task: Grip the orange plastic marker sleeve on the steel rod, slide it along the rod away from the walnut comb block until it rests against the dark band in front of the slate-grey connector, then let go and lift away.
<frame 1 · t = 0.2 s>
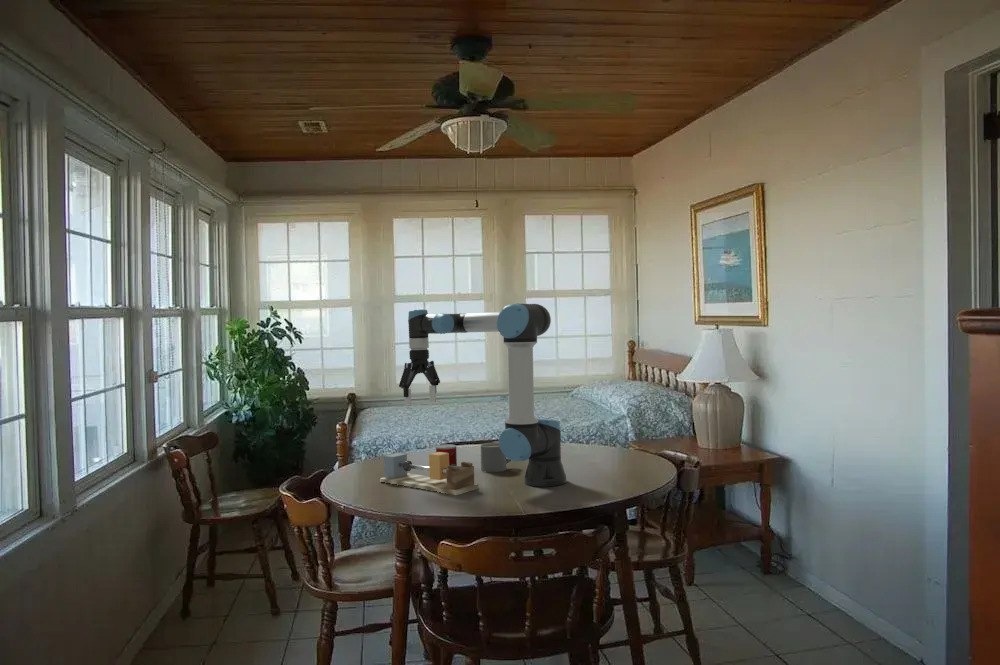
hand: (420, 403, 275), 28 cm above the table, tool pointing down, fingers open, 13 cm apart
canned food: (446, 474, 276), on the table
connector: (395, 465, 267), point 6 cm above the table
coffee mug: (498, 470, 282), on the table
rail board: (427, 485, 257), on the table
marker sleeve: (439, 465, 253), point 8 cm above the table, slide at 0.0 cm
rail rod: (426, 468, 257), point 6 cm above the table
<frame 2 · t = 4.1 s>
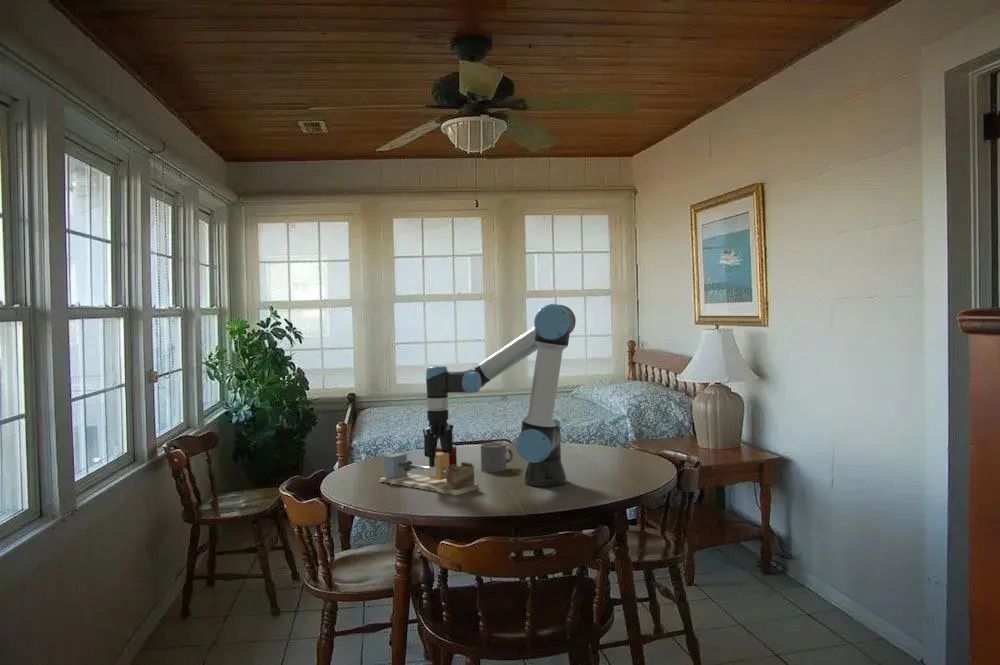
hand: (439, 474, 253), 5 cm above the table, tool pointing down, fingers closed on marker sleeve, 5 cm apart
marker sleeve: (439, 465, 253), point 8 cm above the table, slide at 0.0 cm, touching gripper
everything else where it was.
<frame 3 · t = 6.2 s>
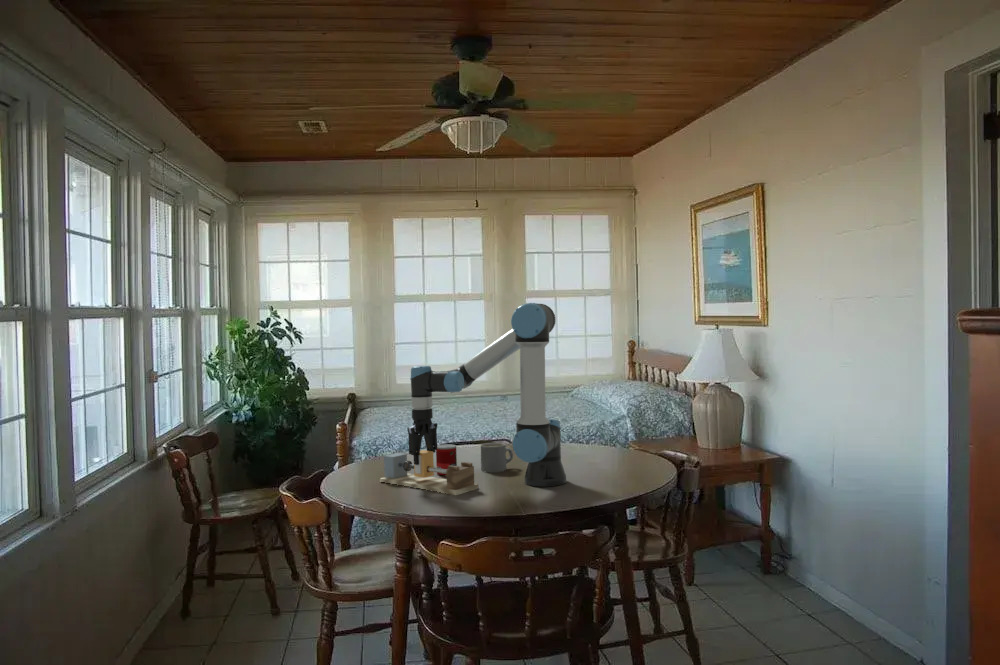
hand: (423, 471, 258), 5 cm above the table, tool pointing down, fingers closed on marker sleeve, 5 cm apart
marker sleeve: (423, 463, 258), point 8 cm above the table, slide at 7.7 cm, touching gripper
everything else where it was.
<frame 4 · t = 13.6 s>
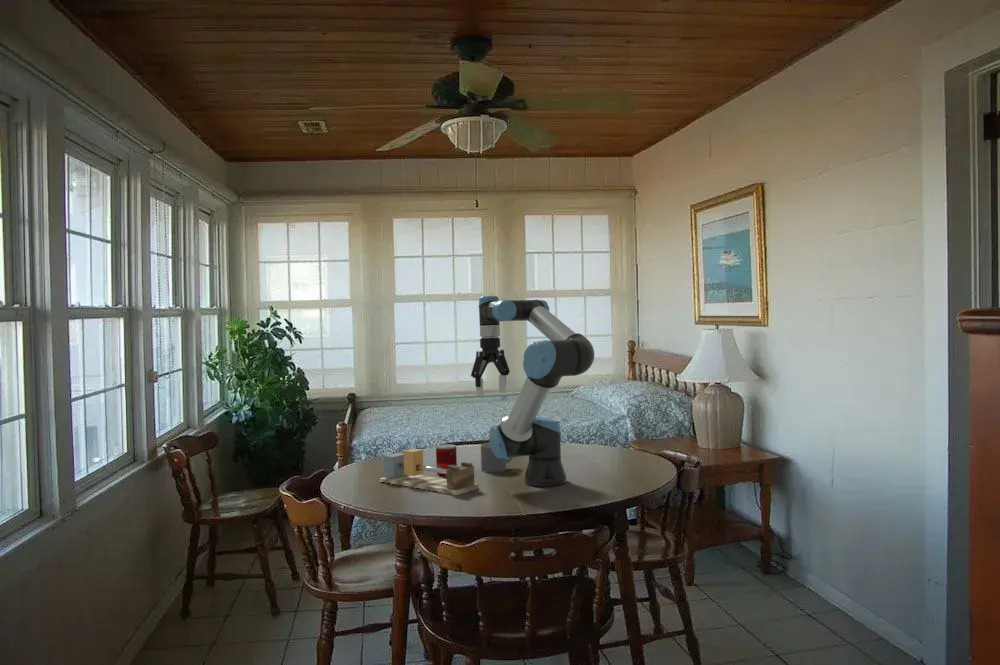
hand: (491, 394, 265), 32 cm above the table, tool pointing down, fingers open, 13 cm apart
marker sleeve: (413, 462, 261), point 8 cm above the table, slide at 13.0 cm, touching rail rod
everything else where it was.
at the end: marker sleeve slide at 13.0 cm; the gripper is holding nothing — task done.
